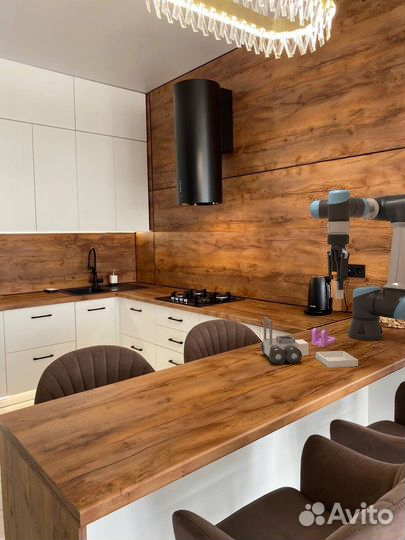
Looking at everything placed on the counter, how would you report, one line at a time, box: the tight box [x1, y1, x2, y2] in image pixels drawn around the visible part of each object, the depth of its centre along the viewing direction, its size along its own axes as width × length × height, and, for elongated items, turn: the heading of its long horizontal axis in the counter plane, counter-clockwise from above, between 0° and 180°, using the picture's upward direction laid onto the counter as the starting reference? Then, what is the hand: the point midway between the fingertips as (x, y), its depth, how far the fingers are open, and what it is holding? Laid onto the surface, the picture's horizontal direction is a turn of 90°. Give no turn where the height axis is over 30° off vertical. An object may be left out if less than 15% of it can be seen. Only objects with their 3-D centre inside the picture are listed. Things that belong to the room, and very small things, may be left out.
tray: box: [315, 350, 359, 369], centre depth 154 cm, size 11×11×2 cm
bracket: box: [311, 327, 336, 348], centre depth 182 cm, size 13×6×7 cm, turn 137°
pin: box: [332, 272, 342, 312], centre depth 152 cm, size 4×4×14 cm
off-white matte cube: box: [295, 338, 309, 357], centre depth 166 cm, size 6×6×5 cm
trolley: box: [260, 316, 303, 366], centre depth 158 cm, size 12×14×16 cm
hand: (337, 297), depth 152 cm, fingers closed on pin, 3 cm apart
